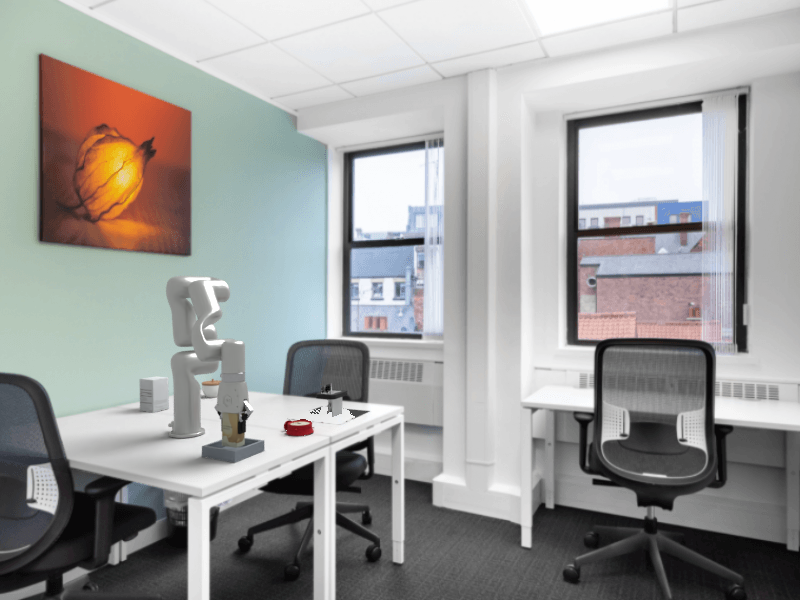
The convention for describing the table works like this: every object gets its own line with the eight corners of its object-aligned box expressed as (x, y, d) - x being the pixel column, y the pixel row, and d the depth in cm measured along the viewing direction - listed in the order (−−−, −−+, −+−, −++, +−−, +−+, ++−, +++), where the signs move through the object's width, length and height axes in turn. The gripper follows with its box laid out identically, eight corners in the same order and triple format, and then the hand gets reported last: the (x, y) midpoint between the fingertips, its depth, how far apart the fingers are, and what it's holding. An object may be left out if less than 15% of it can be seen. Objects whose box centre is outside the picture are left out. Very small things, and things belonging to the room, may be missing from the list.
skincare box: (221, 446, 174) (221, 409, 174) (230, 443, 178) (229, 406, 178) (237, 448, 171) (237, 410, 171) (245, 444, 175) (245, 408, 175)
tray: (201, 456, 171) (201, 446, 171) (232, 445, 184) (232, 435, 184) (234, 462, 165) (234, 451, 165) (264, 450, 178) (264, 440, 178)
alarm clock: (291, 429, 194) (280, 412, 206) (290, 444, 195) (279, 427, 208) (318, 425, 199) (306, 409, 211) (317, 441, 200) (304, 424, 213)
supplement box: (155, 407, 249) (155, 375, 249) (169, 409, 245) (169, 377, 245) (138, 411, 241) (138, 378, 241) (152, 413, 237) (152, 379, 237)
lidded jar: (227, 395, 280) (227, 377, 280) (217, 398, 270) (217, 380, 270) (208, 394, 282) (208, 377, 282) (197, 398, 271) (197, 380, 271)
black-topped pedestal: (321, 406, 250) (321, 378, 250) (370, 411, 240) (370, 382, 240) (286, 419, 224) (286, 388, 224) (340, 425, 214) (340, 392, 214)
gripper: (205, 377, 175) (205, 431, 175) (245, 381, 167) (246, 437, 167) (221, 374, 182) (222, 426, 182) (261, 377, 174) (261, 432, 174)
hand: (233, 431), depth 175 cm, fingers closed on skincare box, 6 cm apart
